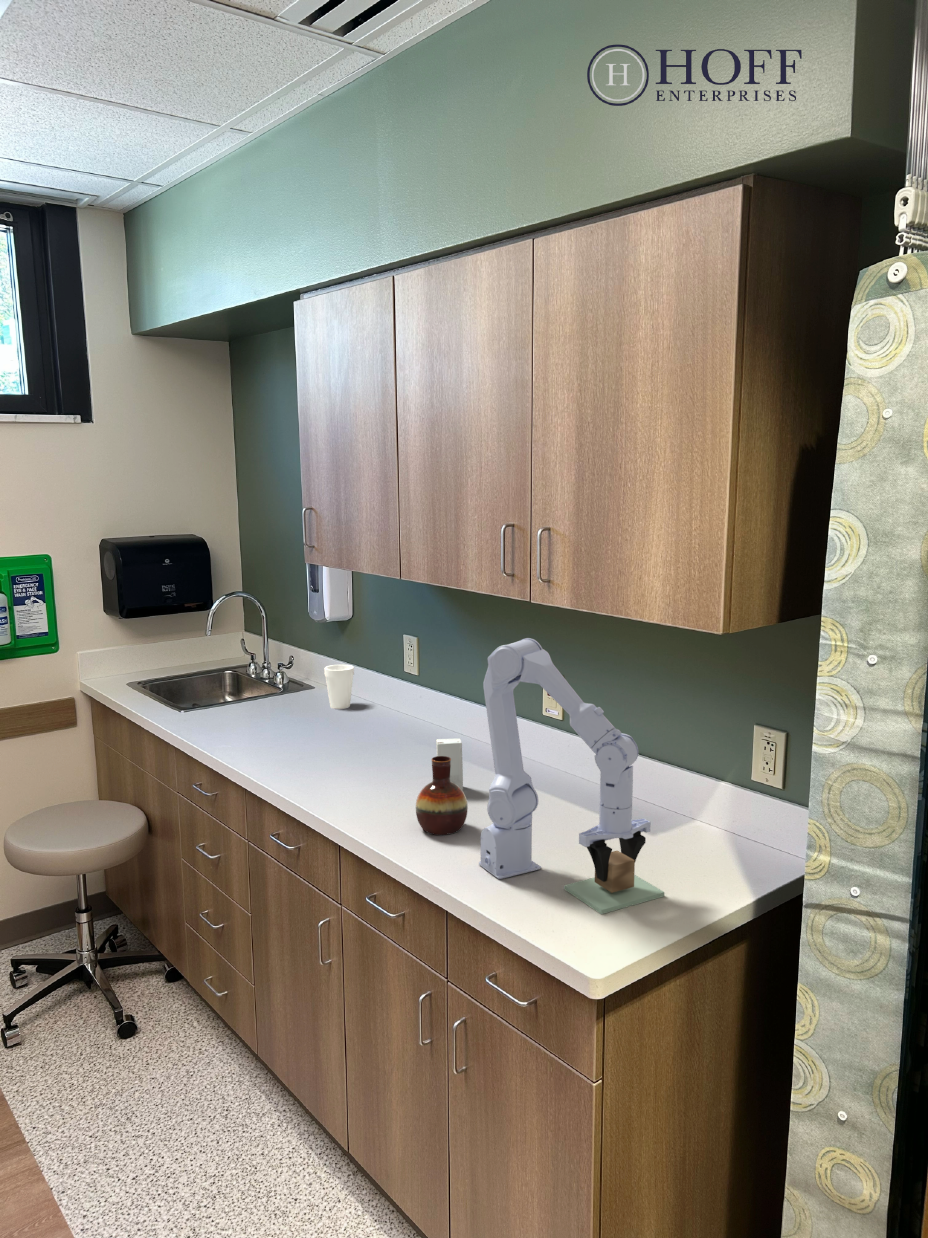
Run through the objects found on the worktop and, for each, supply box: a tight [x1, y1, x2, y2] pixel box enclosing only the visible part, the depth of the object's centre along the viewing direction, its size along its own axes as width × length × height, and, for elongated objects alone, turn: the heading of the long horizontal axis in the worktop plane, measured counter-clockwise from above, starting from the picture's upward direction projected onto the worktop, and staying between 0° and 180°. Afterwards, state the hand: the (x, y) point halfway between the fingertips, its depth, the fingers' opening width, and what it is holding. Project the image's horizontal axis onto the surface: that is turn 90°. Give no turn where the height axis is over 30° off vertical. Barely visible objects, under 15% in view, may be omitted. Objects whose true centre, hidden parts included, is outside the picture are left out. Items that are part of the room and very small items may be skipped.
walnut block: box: [594, 850, 636, 893], centre depth 166 cm, size 5×5×5 cm
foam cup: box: [323, 664, 355, 710], centre depth 300 cm, size 10×9×13 cm
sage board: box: [563, 873, 665, 915], centre depth 166 cm, size 14×11×1 cm
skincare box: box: [435, 738, 464, 792], centre depth 221 cm, size 6×4×12 cm
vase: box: [415, 755, 469, 836], centre depth 196 cm, size 11×11×15 cm
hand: (614, 876), depth 166 cm, fingers open, 5 cm apart
